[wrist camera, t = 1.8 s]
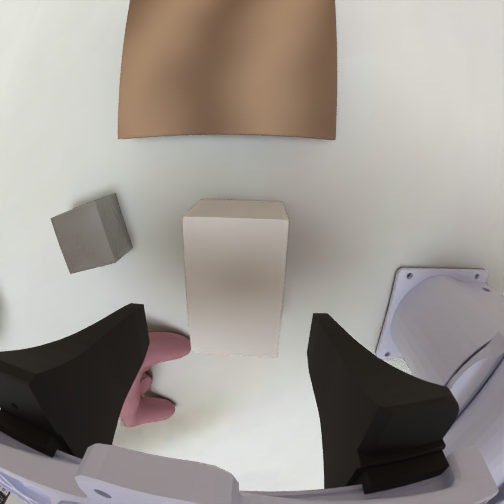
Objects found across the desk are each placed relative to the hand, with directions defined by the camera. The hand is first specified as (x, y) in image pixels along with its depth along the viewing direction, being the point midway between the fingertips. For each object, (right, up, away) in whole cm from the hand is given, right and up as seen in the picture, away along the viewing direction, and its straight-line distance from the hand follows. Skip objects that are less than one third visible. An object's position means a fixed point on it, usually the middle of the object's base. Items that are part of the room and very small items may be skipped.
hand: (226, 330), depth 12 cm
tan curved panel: (0, +15, +3) cm, 15 cm away
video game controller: (-8, -6, +11) cm, 15 cm away
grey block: (-10, +5, +7) cm, 13 cm away
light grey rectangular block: (0, +3, +8) cm, 8 cm away
